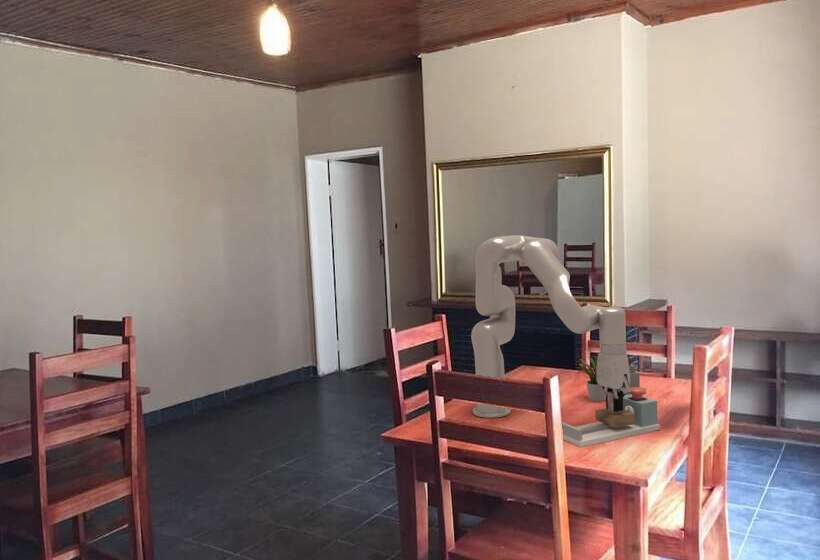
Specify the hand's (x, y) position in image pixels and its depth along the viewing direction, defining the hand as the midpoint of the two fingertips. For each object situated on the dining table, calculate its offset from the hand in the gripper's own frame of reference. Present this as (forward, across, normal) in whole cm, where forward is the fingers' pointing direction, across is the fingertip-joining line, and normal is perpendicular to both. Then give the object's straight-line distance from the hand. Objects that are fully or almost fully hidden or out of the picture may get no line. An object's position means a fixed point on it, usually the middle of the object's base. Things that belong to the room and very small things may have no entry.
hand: (614, 409), depth 203 cm
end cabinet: (+5, 0, +8) cm, 10 cm away
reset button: (-2, 0, +9) cm, 9 cm away
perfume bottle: (+7, -13, +15) cm, 21 cm away
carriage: (+4, 0, 0) cm, 4 cm away
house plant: (+7, -30, +19) cm, 36 cm away
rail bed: (+7, 0, -3) cm, 7 cm away
